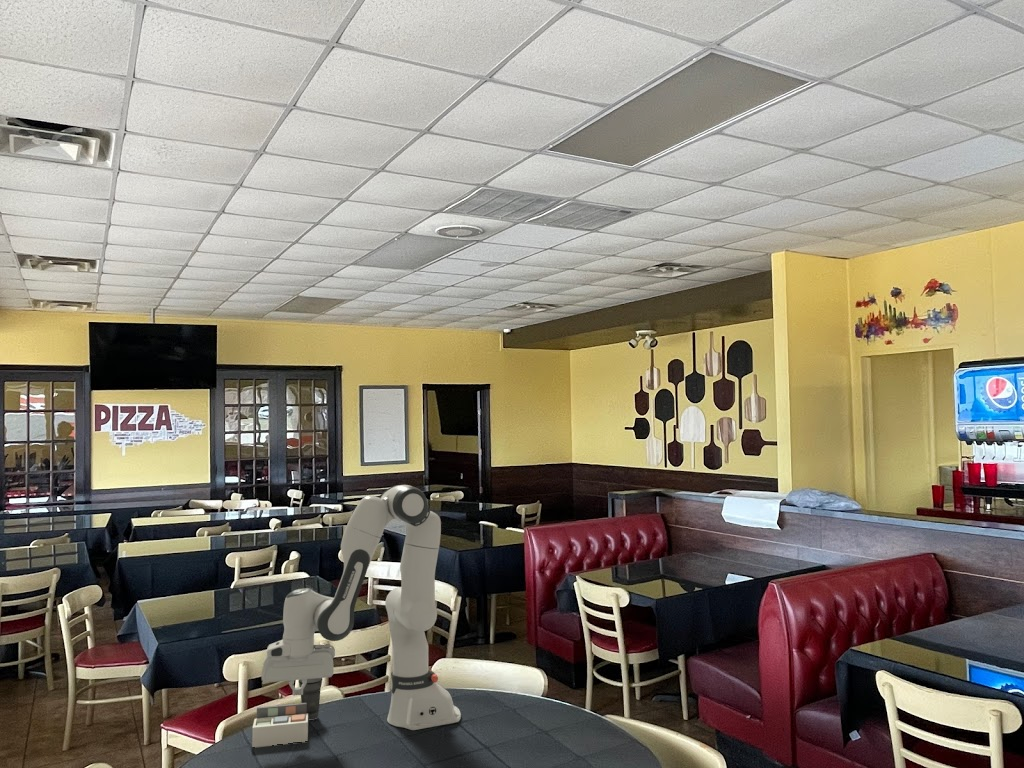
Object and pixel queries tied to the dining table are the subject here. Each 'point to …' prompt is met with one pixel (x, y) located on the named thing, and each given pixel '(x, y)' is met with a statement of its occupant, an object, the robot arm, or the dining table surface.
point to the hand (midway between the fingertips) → (297, 694)
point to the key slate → (281, 719)
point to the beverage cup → (311, 696)
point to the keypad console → (279, 725)
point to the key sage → (263, 723)
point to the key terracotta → (298, 718)
